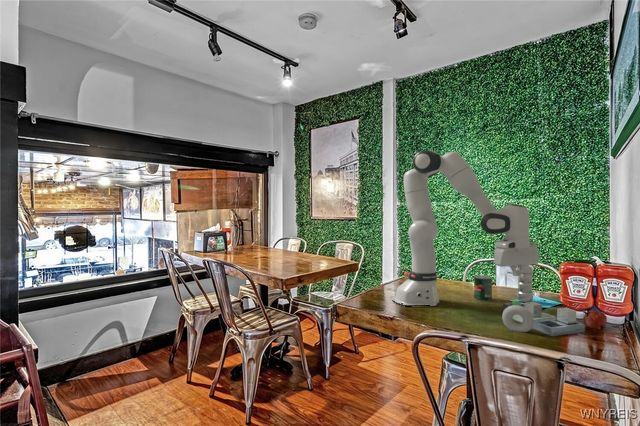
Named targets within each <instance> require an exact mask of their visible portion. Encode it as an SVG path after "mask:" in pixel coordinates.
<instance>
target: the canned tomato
mask: <svg viewBox="0 0 640 426" xmlns="http://www.w3.org/2000/svg"><path fill="white" fill-rule="evenodd" d="M473 279H474V280H473V281H474V282H473V291H474V292H473V299H474V300H476V301H477V302H479V301H480V302H491V301H492V300H493V298H492V297H493V293H492V292H493V277H492V276H489V275H483V274H482V275H481V274H479V275H474V278H473Z"/></svg>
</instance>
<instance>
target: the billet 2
mask: <svg viewBox="0 0 640 426" xmlns="http://www.w3.org/2000/svg"><path fill="white" fill-rule="evenodd" d="M556 309H557V310H556V311H557V312H556V319H557V322H560V323H563V324H566V325H573V324H576V322H577V310H575V309H571V308H569V307H558V308H556Z"/></svg>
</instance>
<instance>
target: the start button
mask: <svg viewBox="0 0 640 426" xmlns="http://www.w3.org/2000/svg"><path fill="white" fill-rule="evenodd" d="M511 302H512V305H519V306H521V304H522V301H519V300H518V299H517V300H511Z"/></svg>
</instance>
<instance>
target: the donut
mask: <svg viewBox="0 0 640 426" xmlns="http://www.w3.org/2000/svg"><path fill="white" fill-rule="evenodd" d="M502 311H503V310H502ZM514 315H520V316H521V317H522V318H523V322H519V323H518V322H515V320H514V319H512V318H513V316H514ZM501 317H502V323H503V324H504V326H505V327H506V328H507V329H508V330H510V331H511V332H518V333H528V332H529V331H531V330H532V329H533V324H534V319H533V316H532V314H531V313H530V312H529V311H528V310H527V309H526V308H524V307H522V306H519V305H512V306H509V307H507V308H506V309H505V310H504V311H503V312H502V316H501Z"/></svg>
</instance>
